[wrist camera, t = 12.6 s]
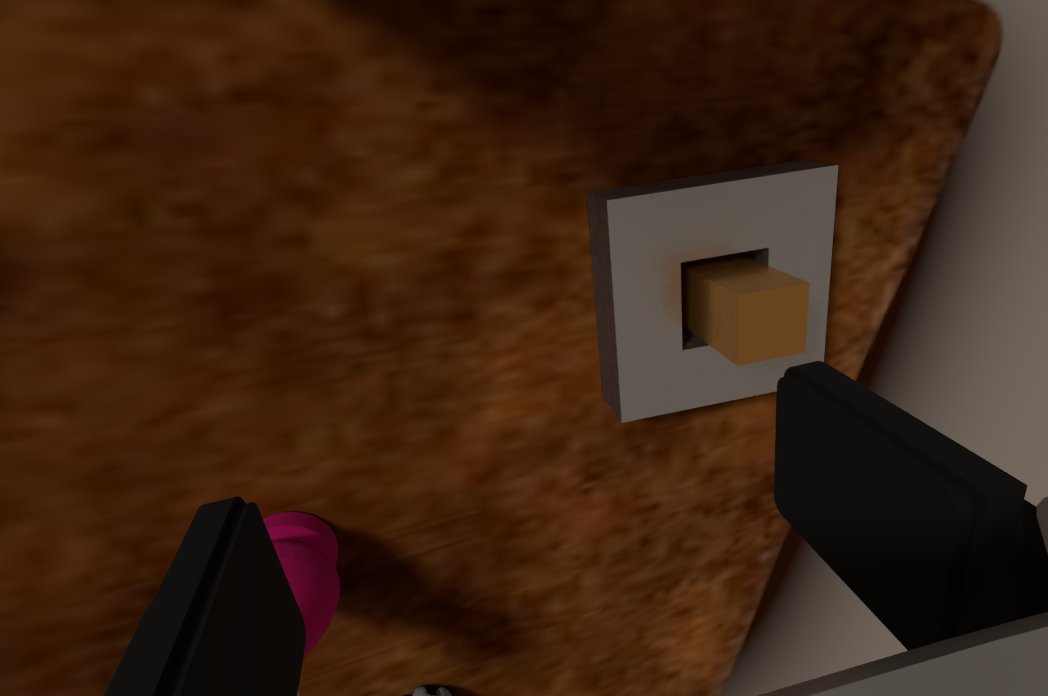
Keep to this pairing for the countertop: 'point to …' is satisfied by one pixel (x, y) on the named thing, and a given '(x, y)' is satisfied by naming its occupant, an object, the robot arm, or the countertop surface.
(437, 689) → the bottle
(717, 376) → the white flat block
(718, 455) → the countertop surface
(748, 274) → the wooden block
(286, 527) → the pepper mill
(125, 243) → the countertop surface
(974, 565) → the robot arm
